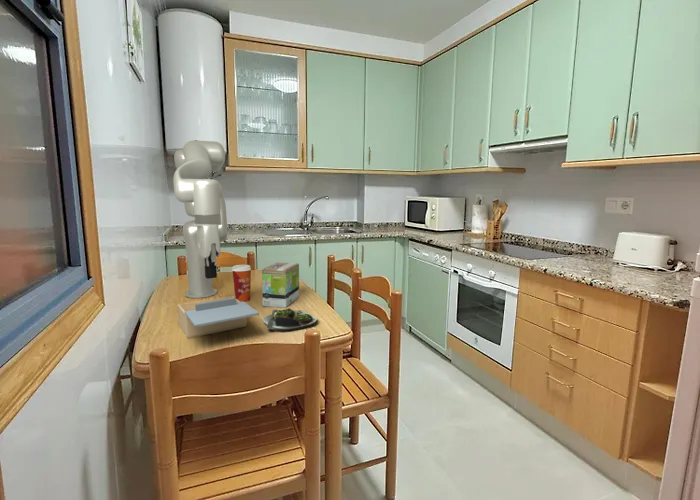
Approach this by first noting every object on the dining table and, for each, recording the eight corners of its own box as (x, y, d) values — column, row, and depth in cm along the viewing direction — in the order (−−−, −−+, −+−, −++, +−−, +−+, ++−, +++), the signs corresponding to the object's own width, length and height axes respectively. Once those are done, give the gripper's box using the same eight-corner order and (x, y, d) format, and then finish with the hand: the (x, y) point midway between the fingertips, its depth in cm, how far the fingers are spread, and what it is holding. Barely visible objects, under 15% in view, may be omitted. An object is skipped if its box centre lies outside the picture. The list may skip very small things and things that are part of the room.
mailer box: (178, 324, 123) (177, 304, 122) (233, 314, 133) (232, 295, 132) (187, 338, 111) (186, 316, 110) (246, 326, 121) (245, 305, 120)
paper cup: (242, 303, 146) (240, 268, 143) (229, 300, 150) (227, 266, 147) (257, 299, 152) (255, 265, 150) (243, 296, 156) (242, 263, 154)
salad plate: (252, 318, 130) (251, 305, 129) (299, 310, 139) (299, 298, 138) (271, 337, 113) (270, 322, 113) (323, 326, 123) (323, 313, 122)
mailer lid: (184, 313, 112) (184, 304, 112) (243, 303, 122) (243, 295, 122) (195, 327, 101) (194, 317, 100) (258, 314, 111) (258, 306, 110)
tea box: (286, 308, 140) (285, 270, 138) (262, 306, 142) (260, 268, 140) (299, 297, 155) (299, 262, 153) (277, 295, 157) (276, 261, 155)
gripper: (189, 218, 119) (193, 274, 122) (201, 223, 107) (204, 284, 110) (213, 217, 123) (216, 271, 126) (227, 221, 111) (230, 281, 114)
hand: (211, 277), depth 118 cm, fingers closed
